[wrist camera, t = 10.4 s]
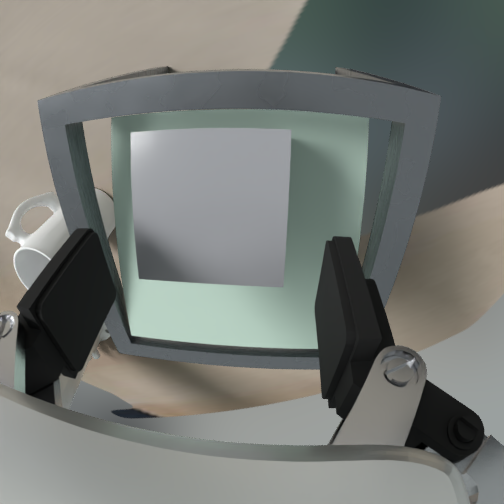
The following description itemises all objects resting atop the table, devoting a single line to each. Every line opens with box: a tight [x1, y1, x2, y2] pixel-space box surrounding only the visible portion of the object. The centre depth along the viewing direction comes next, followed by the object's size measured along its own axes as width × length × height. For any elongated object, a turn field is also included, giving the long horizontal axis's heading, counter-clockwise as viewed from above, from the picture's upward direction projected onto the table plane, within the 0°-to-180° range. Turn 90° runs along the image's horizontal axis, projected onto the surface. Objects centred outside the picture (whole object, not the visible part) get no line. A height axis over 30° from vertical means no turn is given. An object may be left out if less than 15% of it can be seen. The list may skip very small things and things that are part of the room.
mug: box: [5, 188, 115, 289], centre depth 27 cm, size 10×7×12 cm, turn 42°
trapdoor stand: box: [38, 66, 441, 369], centre depth 22 cm, size 18×18×16 cm
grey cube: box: [131, 128, 291, 287], centre depth 13 cm, size 6×6×6 cm
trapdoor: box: [111, 109, 369, 349], centre depth 18 cm, size 14×14×1 cm
